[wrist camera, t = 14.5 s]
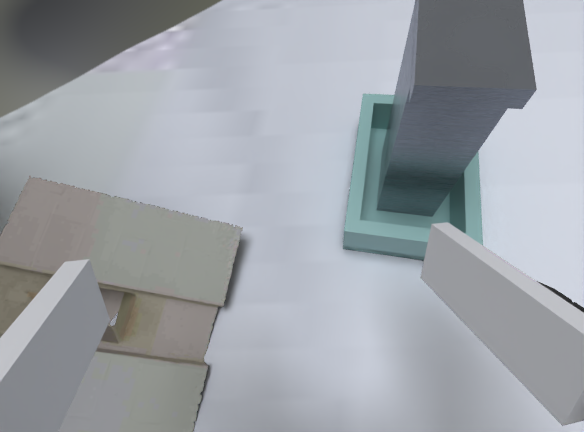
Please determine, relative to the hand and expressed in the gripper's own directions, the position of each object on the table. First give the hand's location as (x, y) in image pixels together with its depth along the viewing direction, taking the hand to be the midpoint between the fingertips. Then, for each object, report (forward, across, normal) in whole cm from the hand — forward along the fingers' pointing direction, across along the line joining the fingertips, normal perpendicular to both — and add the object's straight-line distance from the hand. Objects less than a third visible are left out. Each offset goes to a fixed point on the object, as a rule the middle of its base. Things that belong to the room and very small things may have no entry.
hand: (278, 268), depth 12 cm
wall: (+12, -9, -11) cm, 19 cm away
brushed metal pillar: (+13, +13, -2) cm, 18 cm away
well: (+13, +13, -2) cm, 19 cm away
